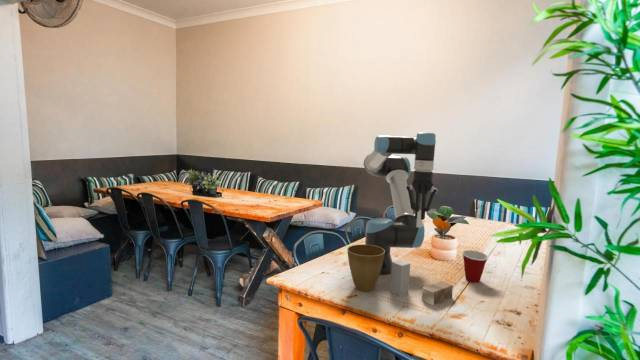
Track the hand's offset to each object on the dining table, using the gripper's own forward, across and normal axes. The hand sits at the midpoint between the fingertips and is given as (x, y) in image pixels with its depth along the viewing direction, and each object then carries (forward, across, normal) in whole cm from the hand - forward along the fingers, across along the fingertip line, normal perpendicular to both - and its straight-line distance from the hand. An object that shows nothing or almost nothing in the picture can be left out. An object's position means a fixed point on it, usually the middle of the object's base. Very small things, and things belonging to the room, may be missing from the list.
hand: (419, 226), depth 152 cm
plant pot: (+24, -15, -19) cm, 34 cm away
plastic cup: (+25, +20, +18) cm, 36 cm away
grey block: (+24, -2, -14) cm, 28 cm away
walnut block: (+21, +10, -16) cm, 29 cm away
